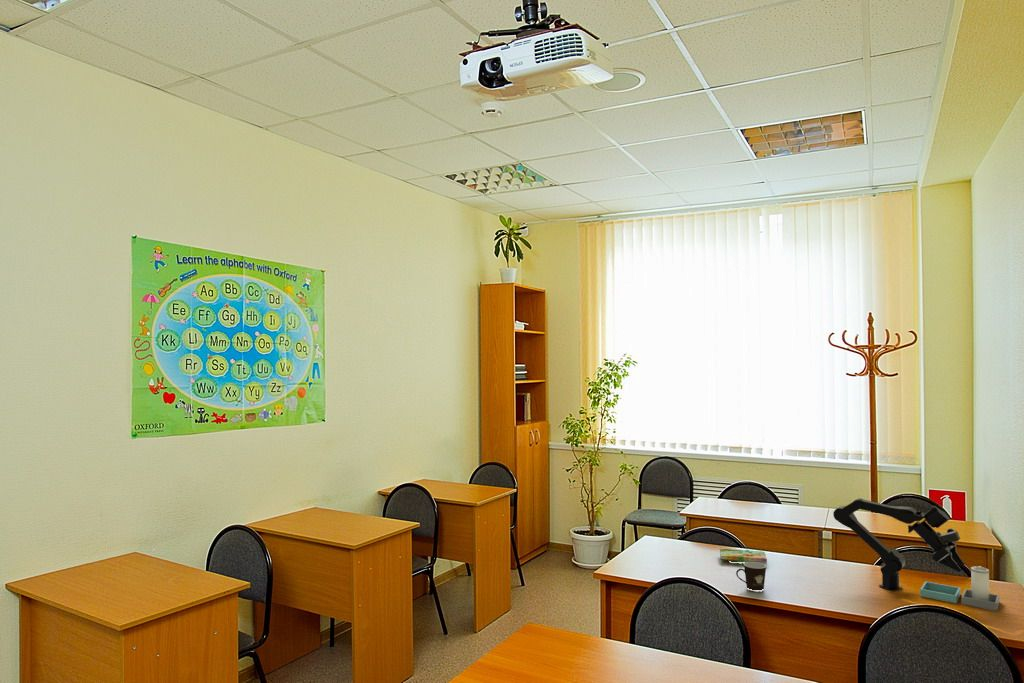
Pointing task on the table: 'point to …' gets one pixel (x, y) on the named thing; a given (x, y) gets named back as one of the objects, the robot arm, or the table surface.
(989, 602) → the bin
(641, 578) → the table surface
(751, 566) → the coffee mug
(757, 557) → the puzzle game
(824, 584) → the table surface
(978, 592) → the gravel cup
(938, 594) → the bin
